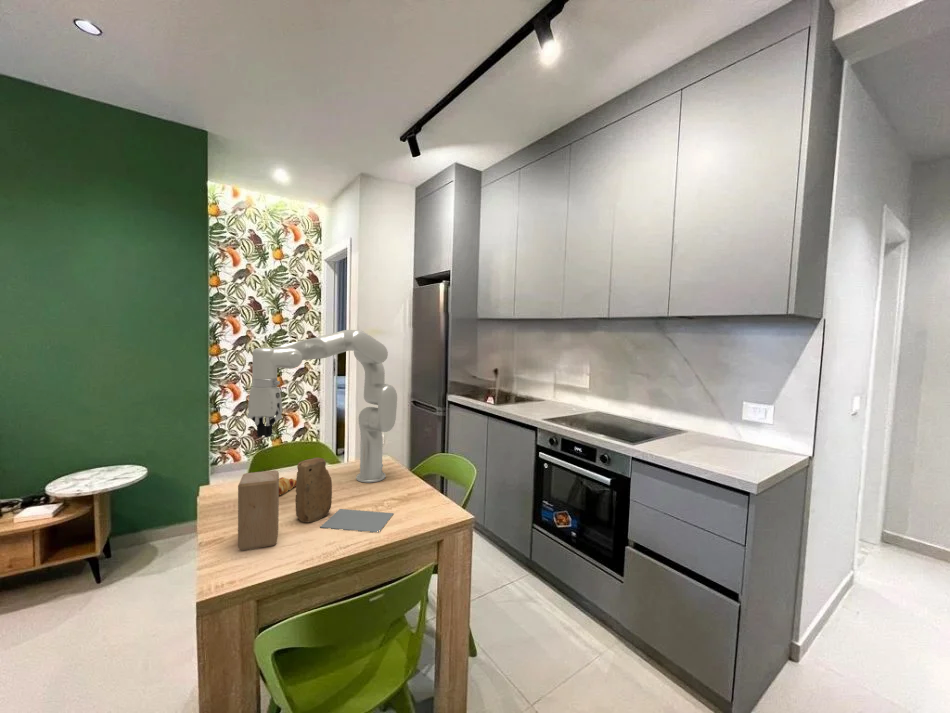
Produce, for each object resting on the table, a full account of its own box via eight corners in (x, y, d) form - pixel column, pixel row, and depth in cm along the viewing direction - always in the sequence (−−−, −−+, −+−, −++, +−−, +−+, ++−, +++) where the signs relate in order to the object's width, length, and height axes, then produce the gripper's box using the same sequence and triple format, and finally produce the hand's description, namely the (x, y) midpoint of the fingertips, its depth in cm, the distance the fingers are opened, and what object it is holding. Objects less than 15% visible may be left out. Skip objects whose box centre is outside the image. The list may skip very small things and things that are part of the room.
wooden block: (237, 552, 112) (237, 483, 111) (242, 536, 121) (242, 472, 121) (276, 546, 116) (277, 479, 115) (278, 530, 125) (279, 469, 125)
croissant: (293, 492, 166) (288, 474, 167) (307, 485, 161) (302, 467, 163) (242, 509, 147) (237, 488, 149) (256, 502, 143) (251, 481, 144)
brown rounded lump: (303, 525, 129) (304, 465, 128) (293, 518, 134) (293, 460, 133) (334, 515, 137) (334, 458, 137) (323, 508, 142) (323, 454, 141)
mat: (339, 509, 142) (339, 508, 142) (393, 514, 140) (393, 513, 140) (320, 527, 128) (320, 526, 128) (379, 533, 126) (379, 532, 126)
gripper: (292, 383, 139) (292, 435, 140) (251, 381, 141) (250, 432, 142) (279, 385, 131) (279, 440, 132) (235, 383, 133) (235, 437, 134)
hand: (264, 436), depth 137 cm, fingers closed
